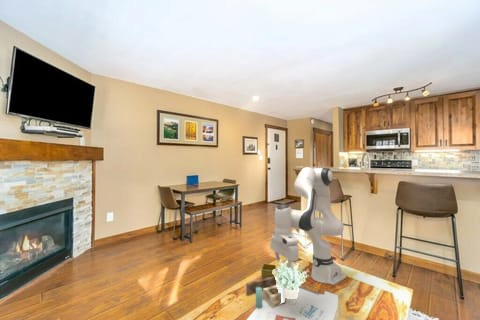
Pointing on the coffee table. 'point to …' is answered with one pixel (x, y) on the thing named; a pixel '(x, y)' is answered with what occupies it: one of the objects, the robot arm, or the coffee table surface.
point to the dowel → (259, 297)
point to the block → (272, 296)
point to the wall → (259, 284)
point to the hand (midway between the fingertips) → (283, 263)
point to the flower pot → (267, 270)
